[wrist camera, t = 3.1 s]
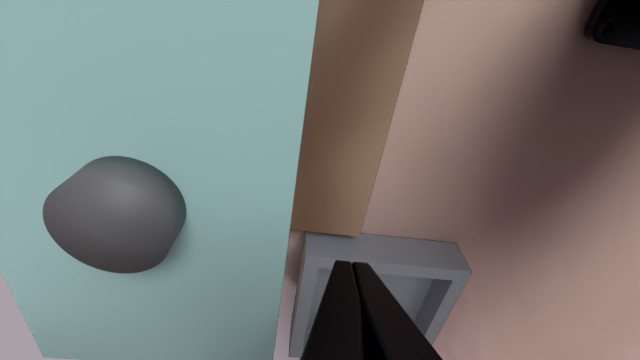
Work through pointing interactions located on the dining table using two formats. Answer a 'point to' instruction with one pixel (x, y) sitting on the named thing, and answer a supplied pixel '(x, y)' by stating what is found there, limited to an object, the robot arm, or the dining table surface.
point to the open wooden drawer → (349, 109)
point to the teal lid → (150, 172)
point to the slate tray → (382, 277)
